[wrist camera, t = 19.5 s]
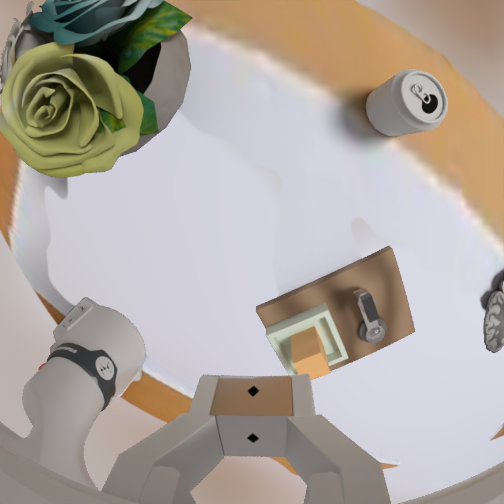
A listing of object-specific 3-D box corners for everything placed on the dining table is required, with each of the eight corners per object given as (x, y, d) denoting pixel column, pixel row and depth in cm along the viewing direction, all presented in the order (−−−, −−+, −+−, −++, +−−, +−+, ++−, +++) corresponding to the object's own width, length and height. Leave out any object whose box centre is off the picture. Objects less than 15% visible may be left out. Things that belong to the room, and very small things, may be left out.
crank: (384, 334, 42) (395, 353, 36) (367, 342, 42) (377, 362, 37) (365, 277, 39) (377, 293, 34) (346, 286, 40) (356, 303, 35)
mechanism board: (296, 378, 48) (297, 387, 46) (256, 306, 45) (255, 313, 42) (411, 327, 44) (417, 334, 42) (388, 245, 41) (394, 250, 38)
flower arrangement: (61, 77, 36) (-44, 51, 12) (188, 0, 32) (127, -95, 8) (100, 201, 42) (-21, 239, 18) (246, 129, 37) (209, 76, 14)
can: (391, 147, 37) (431, 143, 25) (353, 110, 36) (383, 90, 24) (418, 115, 35) (462, 102, 23) (383, 78, 34) (418, 52, 22)
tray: (291, 370, 46) (291, 380, 44) (266, 327, 44) (266, 335, 41) (345, 349, 44) (348, 358, 42) (325, 302, 42) (328, 309, 40)
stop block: (323, 345, 44) (330, 372, 37) (300, 354, 44) (303, 383, 38) (314, 325, 43) (320, 352, 36) (290, 335, 43) (292, 363, 37)
